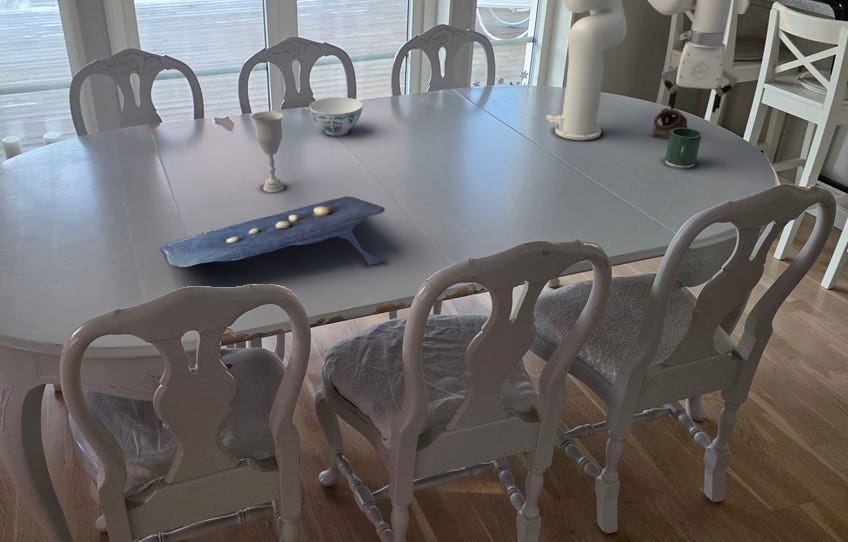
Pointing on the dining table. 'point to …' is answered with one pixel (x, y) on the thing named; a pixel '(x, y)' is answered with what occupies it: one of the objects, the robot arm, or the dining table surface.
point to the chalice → (269, 143)
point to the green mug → (683, 147)
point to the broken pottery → (668, 122)
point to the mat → (276, 233)
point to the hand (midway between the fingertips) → (692, 109)
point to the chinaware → (336, 114)
